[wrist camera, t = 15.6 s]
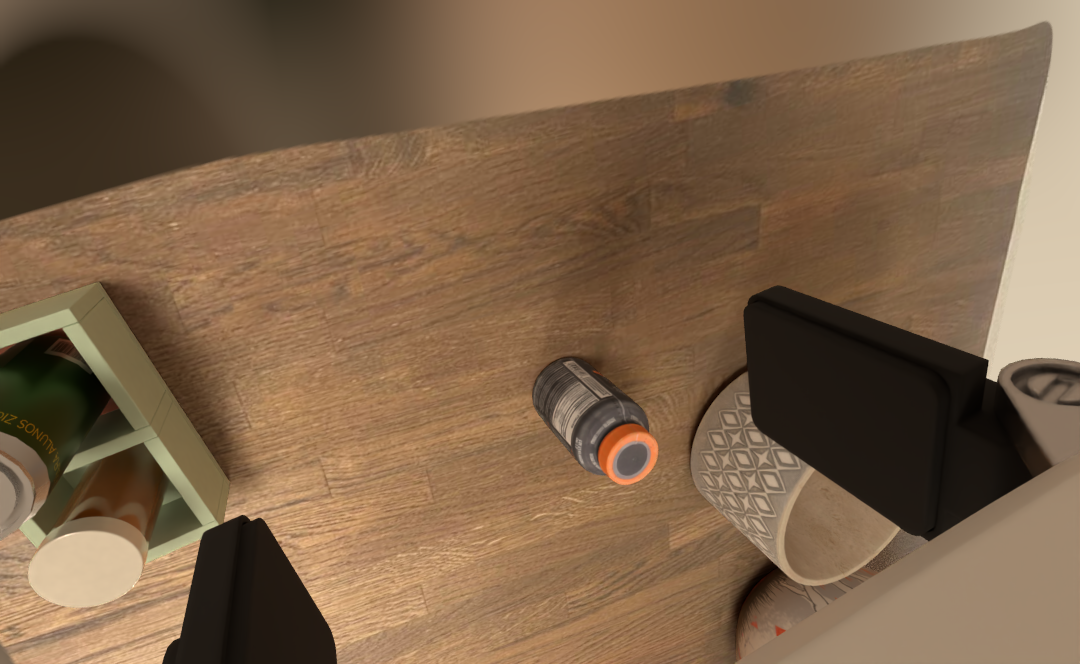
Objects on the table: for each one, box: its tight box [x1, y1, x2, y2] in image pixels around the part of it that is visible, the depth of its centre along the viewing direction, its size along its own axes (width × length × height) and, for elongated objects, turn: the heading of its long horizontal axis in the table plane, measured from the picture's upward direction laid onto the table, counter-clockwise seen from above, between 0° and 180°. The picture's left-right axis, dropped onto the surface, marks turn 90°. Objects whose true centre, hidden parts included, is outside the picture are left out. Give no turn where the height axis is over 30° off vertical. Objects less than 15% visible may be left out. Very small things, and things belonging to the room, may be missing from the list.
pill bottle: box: [532, 358, 658, 485], centre depth 42 cm, size 6×6×11 cm
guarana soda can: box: [0, 335, 111, 541], centre depth 27 cm, size 5×5×12 cm
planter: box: [690, 371, 901, 586], centre depth 52 cm, size 16×16×13 cm
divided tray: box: [0, 282, 230, 564], centre depth 32 cm, size 15×8×5 cm, turn 16°
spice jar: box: [28, 442, 170, 608], centre depth 32 cm, size 5×5×9 cm
